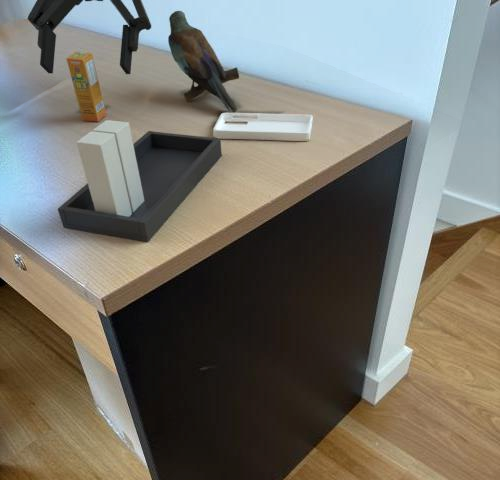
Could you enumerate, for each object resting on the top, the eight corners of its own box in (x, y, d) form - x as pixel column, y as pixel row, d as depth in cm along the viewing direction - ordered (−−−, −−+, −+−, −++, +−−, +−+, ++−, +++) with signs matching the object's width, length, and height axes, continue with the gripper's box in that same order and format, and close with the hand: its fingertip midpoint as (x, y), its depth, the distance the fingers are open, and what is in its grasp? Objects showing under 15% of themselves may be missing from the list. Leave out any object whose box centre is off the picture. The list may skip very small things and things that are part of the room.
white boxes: (98, 223, 62) (75, 141, 55) (124, 197, 66) (106, 119, 59) (120, 226, 61) (100, 144, 54) (144, 201, 65) (129, 122, 58)
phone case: (213, 138, 80) (309, 141, 78) (212, 130, 79) (309, 132, 77) (222, 120, 85) (312, 122, 83) (221, 112, 84) (313, 114, 82)
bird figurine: (265, 104, 87) (228, -24, 82) (214, 118, 84) (171, -14, 79) (236, 123, 99) (202, 13, 94) (190, 137, 96) (152, 23, 91)
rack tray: (63, 227, 62) (57, 208, 60) (151, 147, 78) (148, 130, 76) (148, 242, 59) (144, 222, 57) (221, 155, 75) (220, 138, 73)
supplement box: (80, 121, 87) (63, 57, 80) (90, 114, 89) (75, 50, 82) (98, 122, 86) (82, 58, 79) (107, 115, 88) (93, 51, 82)
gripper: (12, -76, 81) (0, 56, 81) (162, -81, 78) (151, 56, 78) (37, -40, 89) (27, 80, 89) (176, -44, 85) (166, 82, 85)
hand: (85, 69), depth 83 cm, fingers open, 13 cm apart
